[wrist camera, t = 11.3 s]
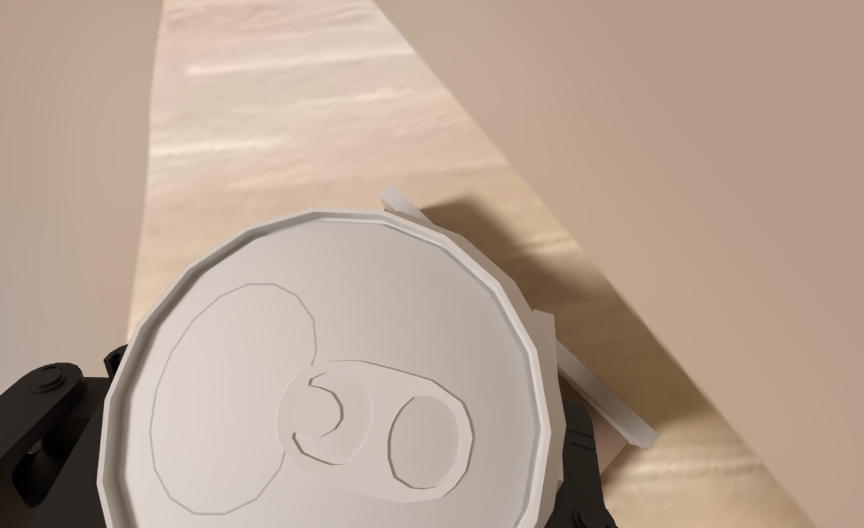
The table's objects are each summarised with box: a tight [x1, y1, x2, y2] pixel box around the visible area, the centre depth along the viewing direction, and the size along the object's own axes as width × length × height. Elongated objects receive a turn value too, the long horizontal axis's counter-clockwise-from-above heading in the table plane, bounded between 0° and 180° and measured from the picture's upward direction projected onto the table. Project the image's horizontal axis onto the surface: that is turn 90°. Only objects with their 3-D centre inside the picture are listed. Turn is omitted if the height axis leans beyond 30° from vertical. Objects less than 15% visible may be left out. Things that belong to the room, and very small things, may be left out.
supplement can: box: [97, 207, 566, 528], centre depth 14 cm, size 8×8×15 cm
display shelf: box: [379, 184, 659, 475], centre depth 25 cm, size 20×15×5 cm
